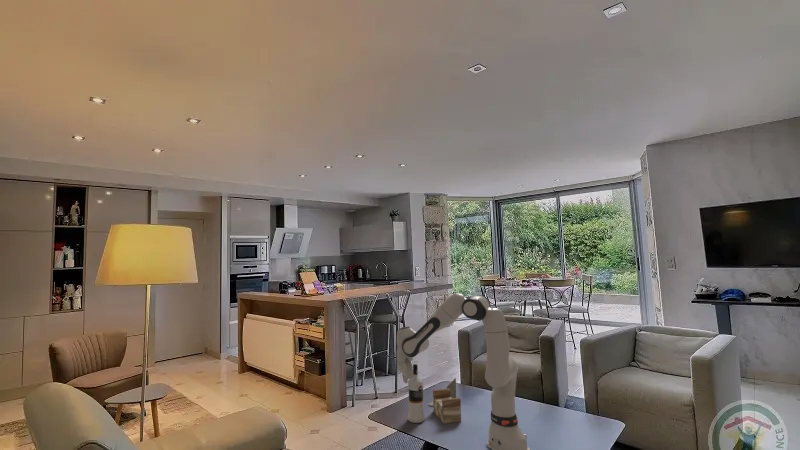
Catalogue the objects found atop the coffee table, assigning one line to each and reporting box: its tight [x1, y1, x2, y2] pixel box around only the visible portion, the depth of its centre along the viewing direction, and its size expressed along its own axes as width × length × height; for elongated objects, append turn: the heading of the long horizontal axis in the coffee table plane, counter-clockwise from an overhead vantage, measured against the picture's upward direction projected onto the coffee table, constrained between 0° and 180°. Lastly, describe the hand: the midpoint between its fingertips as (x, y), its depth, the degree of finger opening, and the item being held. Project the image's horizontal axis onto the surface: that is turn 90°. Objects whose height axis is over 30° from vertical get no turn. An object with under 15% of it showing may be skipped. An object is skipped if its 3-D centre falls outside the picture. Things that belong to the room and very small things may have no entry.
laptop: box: [428, 377, 457, 407], centre depth 236 cm, size 18×12×13 cm
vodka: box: [407, 363, 426, 424], centre depth 211 cm, size 9×9×30 cm
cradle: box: [432, 388, 462, 424], centre depth 215 cm, size 17×10×12 cm, turn 14°
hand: (405, 382), depth 210 cm, fingers closed
